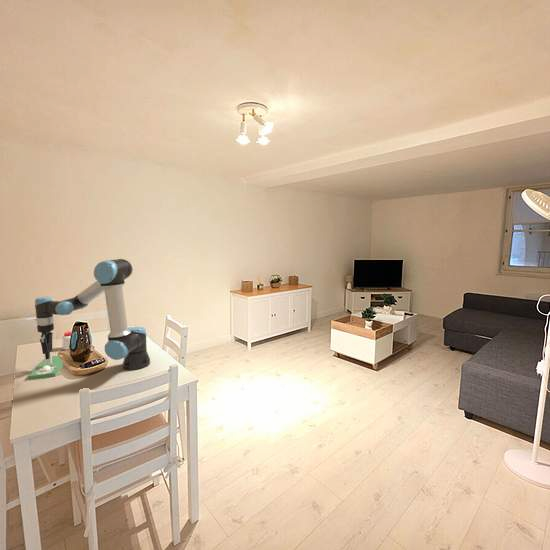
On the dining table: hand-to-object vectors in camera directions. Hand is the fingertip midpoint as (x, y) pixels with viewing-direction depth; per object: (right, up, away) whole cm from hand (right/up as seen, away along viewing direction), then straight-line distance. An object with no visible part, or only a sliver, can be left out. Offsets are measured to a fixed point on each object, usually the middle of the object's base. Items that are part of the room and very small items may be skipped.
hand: (48, 363), depth 174 cm
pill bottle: (-10, +1, +33) cm, 35 cm away
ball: (+2, -2, -5) cm, 6 cm away
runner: (-1, -3, +3) cm, 4 cm away
